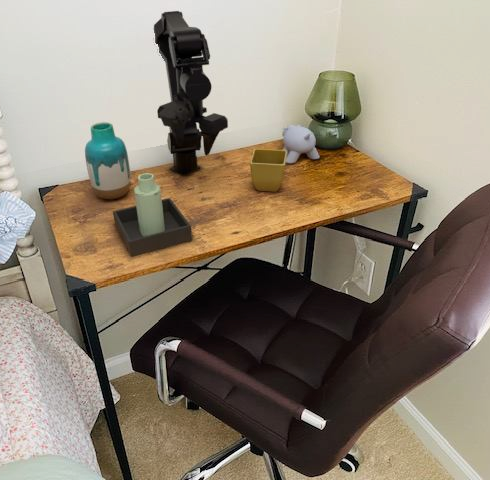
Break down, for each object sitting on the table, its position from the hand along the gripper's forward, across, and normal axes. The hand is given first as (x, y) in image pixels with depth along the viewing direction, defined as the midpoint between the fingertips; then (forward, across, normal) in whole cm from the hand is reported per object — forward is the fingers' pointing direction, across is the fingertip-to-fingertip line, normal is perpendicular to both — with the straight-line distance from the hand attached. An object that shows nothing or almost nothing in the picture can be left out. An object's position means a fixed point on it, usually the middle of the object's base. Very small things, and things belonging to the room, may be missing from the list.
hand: (193, 150), depth 122 cm
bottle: (+12, +6, -20) cm, 24 cm away
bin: (+12, +6, -20) cm, 24 cm away
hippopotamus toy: (+12, +7, +36) cm, 39 cm away
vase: (+12, -16, -15) cm, 25 cm away
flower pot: (+12, +13, +14) cm, 23 cm away
